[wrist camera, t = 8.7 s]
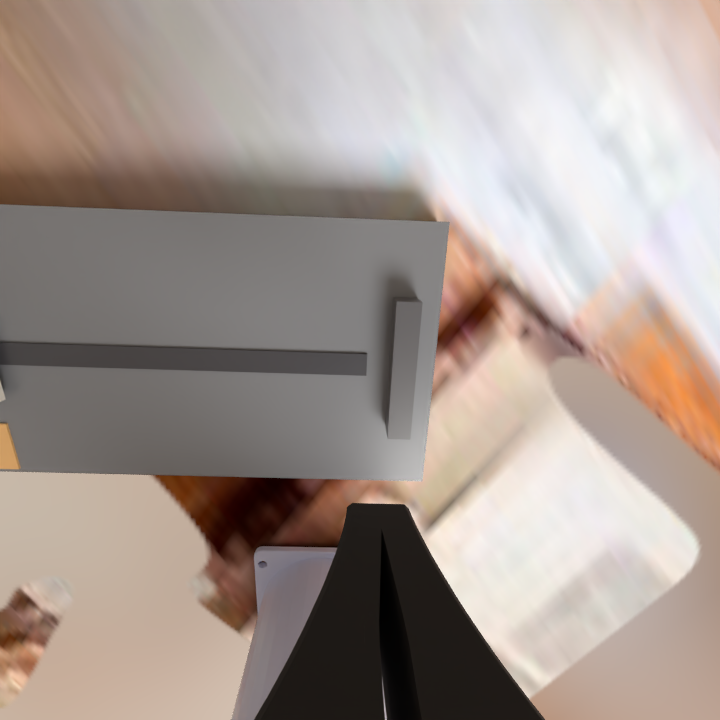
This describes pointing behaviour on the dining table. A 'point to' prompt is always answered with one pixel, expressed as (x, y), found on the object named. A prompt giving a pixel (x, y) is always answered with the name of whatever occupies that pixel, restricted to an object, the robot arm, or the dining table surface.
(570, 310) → the dining table surface
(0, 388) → the fader knob
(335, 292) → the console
